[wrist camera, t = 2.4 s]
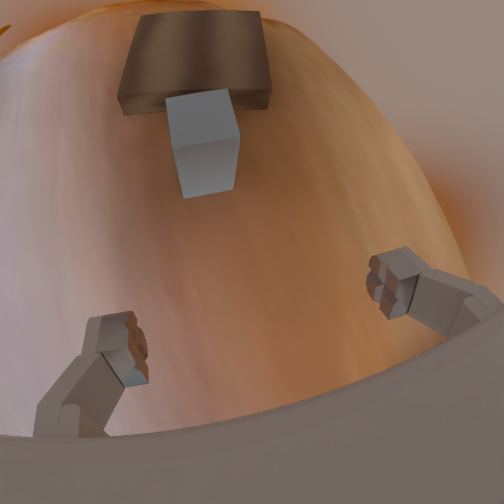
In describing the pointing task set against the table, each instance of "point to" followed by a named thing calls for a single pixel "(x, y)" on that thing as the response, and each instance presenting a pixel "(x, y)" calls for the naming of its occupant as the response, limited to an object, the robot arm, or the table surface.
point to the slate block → (204, 141)
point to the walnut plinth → (196, 59)
